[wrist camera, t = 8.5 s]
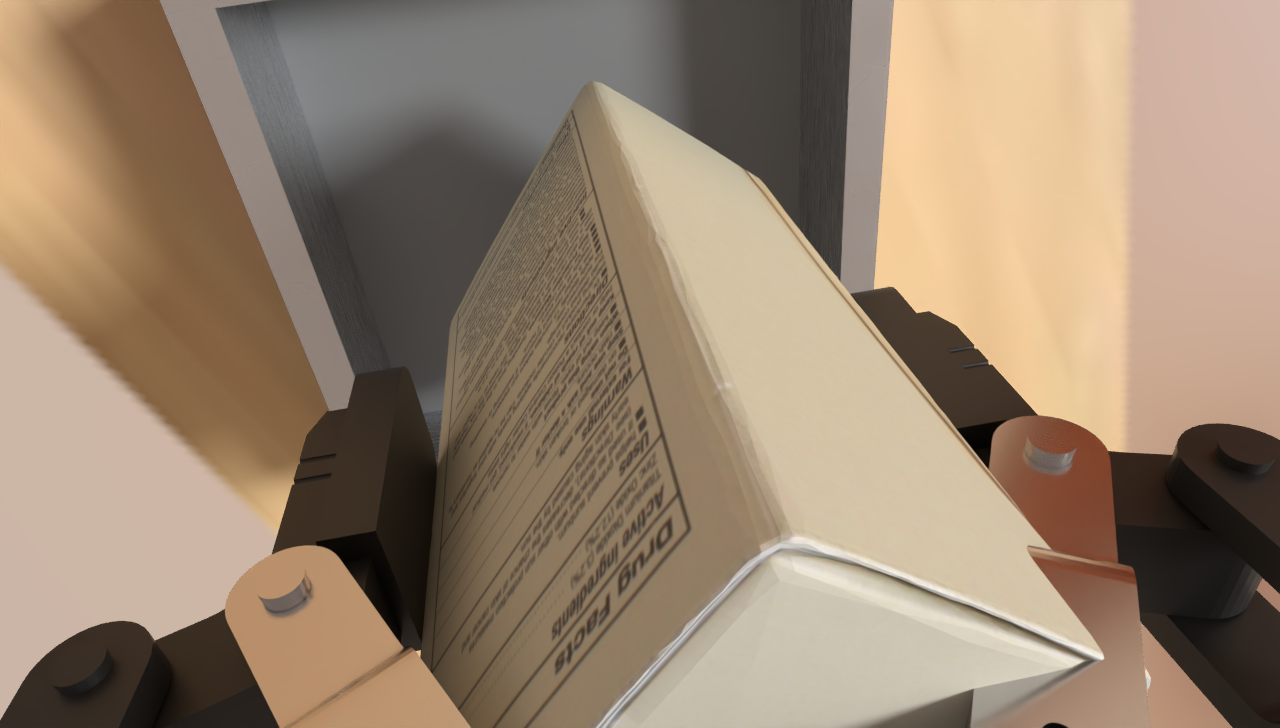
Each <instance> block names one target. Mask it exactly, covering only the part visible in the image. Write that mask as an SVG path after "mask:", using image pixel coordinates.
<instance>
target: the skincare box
mask: <svg viewBox="0 0 1280 728" xmlns="http://www.w3.org/2000/svg"><path fill="white" fill-rule="evenodd" d="M1028 545H1032V546H1037V547H1042V548H1047V549H1051V548H1050V547H1049V546H1048V545H1047V544H1046V542H1045V541H1044V540H1043V539H1042V538H1041V537H1040V535H1039V534H1038V533H1037V532H1036V531H1035V529H1034V528H1033V527H1032V525H1031V524H1030V523H1029V521H1028V520H1027V519H1026V517H1025V516H1024V515H1023V513H1022V512H1021V511H1020V509H1019V508H1018V507H1017V505H1016V504H1015V503H1014V501H1013V500H1012V499H1011V498H1010V496H1009V495H1008V494H1007V493H1006V491H1005V490H1004V489H1003V487H1002V486H1001V485H1000V484H999V482H998V481H997V480H996V479H995V477H994V476H993V475H992V474H991V472H990V471H989V470H988V468H987V467H986V466H985V465H984V463H983V462H982V461H981V460H980V458H979V457H978V456H977V455H976V453H975V452H974V451H973V449H972V448H971V447H970V446H969V444H968V443H967V442H966V441H965V439H964V438H963V437H962V436H961V434H960V433H959V432H958V431H957V429H956V428H955V427H954V425H953V424H952V423H951V421H950V420H949V419H948V418H947V416H946V415H945V414H944V412H943V411H942V410H941V409H940V408H939V407H938V406H937V404H936V403H935V402H934V400H933V399H932V398H931V396H930V395H929V393H928V392H927V391H926V390H925V388H924V387H923V386H922V384H921V383H920V382H919V381H918V379H917V378H916V377H915V376H914V374H913V373H912V372H911V371H910V369H909V368H908V367H907V366H906V364H905V363H904V362H903V361H902V359H901V358H900V357H899V356H898V354H897V353H896V352H895V351H894V349H893V348H892V347H891V346H890V344H889V343H888V342H887V341H886V339H885V338H884V337H883V335H882V334H881V333H880V331H879V330H878V329H877V328H876V326H875V325H874V324H873V322H872V321H871V320H870V319H869V317H868V316H867V315H866V314H865V312H864V311H863V310H862V309H861V307H860V306H859V305H858V304H857V303H856V301H855V300H854V299H853V297H852V296H851V295H850V293H849V292H848V291H847V290H846V288H845V287H844V286H843V285H842V284H841V282H840V281H839V279H838V278H837V277H836V275H835V274H834V273H833V272H832V271H831V270H830V268H829V267H828V266H827V264H826V263H825V262H824V260H823V259H822V258H821V256H820V255H819V254H818V253H817V251H816V250H815V249H814V248H813V246H812V245H811V244H810V243H809V241H808V240H807V239H806V238H805V236H804V235H803V233H802V232H801V231H800V230H799V228H798V227H797V226H796V225H795V223H794V222H793V221H792V220H791V218H790V217H789V216H788V214H787V213H786V212H785V210H784V209H783V208H782V206H781V205H780V204H779V202H778V201H777V200H776V198H775V197H774V196H773V195H772V193H771V192H770V191H769V189H768V188H767V187H766V185H765V184H764V183H763V182H762V181H761V180H760V179H759V178H758V177H756V176H754V175H753V174H751V173H750V172H748V171H746V170H745V169H743V168H742V167H740V166H738V165H737V164H735V163H734V162H732V161H731V160H729V159H727V158H726V157H724V156H723V155H721V154H720V153H718V152H717V151H715V150H713V149H712V148H710V147H709V146H707V145H706V144H704V143H702V142H701V141H699V140H697V139H696V138H694V137H692V136H691V135H689V134H687V133H686V132H684V131H682V130H681V129H679V128H677V127H676V126H674V125H672V124H671V123H669V122H667V121H666V120H664V119H662V118H661V117H659V116H658V115H656V114H654V113H653V112H651V111H649V110H648V109H646V108H644V107H642V106H641V105H639V104H637V103H636V102H634V101H632V100H630V99H629V98H627V97H625V96H623V95H622V94H620V93H618V92H616V91H615V90H613V89H611V88H610V87H608V86H606V85H604V84H603V83H601V82H596V81H591V82H589V83H587V84H585V85H584V86H583V88H582V89H581V91H580V92H579V94H578V96H577V97H576V99H575V100H574V102H573V104H572V105H571V107H570V109H569V110H568V112H567V114H566V116H565V117H564V119H563V121H562V122H561V124H560V126H559V127H558V129H557V131H556V133H555V134H554V136H553V138H552V139H551V141H550V143H549V144H548V146H547V148H546V150H545V151H544V153H543V155H542V157H541V158H540V160H539V162H538V164H537V165H536V167H535V169H534V171H533V172H532V174H531V176H530V178H529V179H528V181H527V183H526V185H525V186H524V188H523V190H522V192H521V193H520V195H519V197H518V199H517V200H516V202H515V204H514V206H513V207H512V209H511V211H510V213H509V215H508V217H507V219H506V220H505V222H504V224H503V226H502V228H501V229H500V231H499V233H498V235H497V236H496V238H495V240H494V242H493V243H492V245H491V247H490V249H489V251H488V253H487V255H486V256H485V258H484V260H483V262H482V264H481V266H480V268H479V269H478V271H477V273H476V275H475V277H474V279H473V281H472V282H471V284H470V286H469V288H468V290H467V292H466V294H465V296H464V298H463V300H462V302H461V304H460V306H459V308H458V309H457V311H456V313H455V315H454V317H453V319H452V321H451V326H450V331H449V345H448V355H447V366H446V379H445V388H444V402H443V411H442V424H441V433H440V442H439V454H438V465H437V477H436V490H435V502H434V512H433V524H432V538H431V546H430V555H429V567H428V578H427V589H426V601H425V612H424V622H423V633H422V644H421V659H422V661H423V662H424V663H425V665H426V666H427V668H428V669H429V670H430V672H431V673H432V675H433V676H434V677H435V679H436V680H437V681H438V683H439V684H440V686H441V687H442V688H443V690H444V691H445V692H446V694H447V695H448V697H449V698H450V699H451V701H452V702H453V703H454V705H455V706H456V708H457V709H458V710H459V712H460V713H461V714H462V716H463V717H464V719H465V720H466V721H467V723H468V724H469V726H470V727H471V728H965V725H966V720H967V716H968V712H969V708H970V703H971V699H972V695H973V690H974V689H975V688H979V687H984V686H989V685H994V684H999V683H1004V682H1008V681H1013V680H1018V679H1023V678H1028V677H1033V676H1037V675H1041V674H1046V673H1050V672H1054V671H1058V670H1063V669H1067V668H1071V667H1073V666H1075V665H1077V664H1079V663H1081V662H1083V661H1091V660H1103V659H1104V655H1103V652H1102V651H1101V649H1100V648H1099V646H1098V645H1097V643H1096V642H1095V640H1094V639H1093V637H1092V636H1091V635H1090V633H1089V632H1088V631H1087V629H1086V628H1085V627H1084V625H1083V624H1082V623H1081V622H1080V620H1079V619H1078V618H1077V616H1076V615H1075V614H1074V612H1073V611H1072V610H1071V609H1070V607H1069V606H1068V605H1067V603H1066V602H1065V601H1064V600H1063V598H1062V597H1061V596H1060V594H1059V593H1058V592H1057V590H1056V589H1055V588H1054V587H1053V585H1052V584H1051V583H1050V581H1049V580H1048V579H1047V578H1046V576H1045V575H1044V574H1043V572H1042V571H1041V570H1040V568H1039V567H1038V566H1037V565H1036V563H1035V562H1034V560H1033V559H1032V558H1031V556H1030V554H1029V553H1028V551H1027V546H1028ZM1051 550H1052V549H1051ZM1145 675H1146V686H1147V690H1148V688H1149V686H1150V681H1151V678H1150V676H1149V674H1148V672H1147V670H1146V668H1145Z"/></svg>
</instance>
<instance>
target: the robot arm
mask: <svg viewBox="0 0 1280 728" xmlns="http://www.w3.org/2000/svg"><path fill="white" fill-rule="evenodd" d="M850 295H851V296H852V297H853V299H854V300H855V301H856V303H857V304H858V305H859V306H860V307H861V309H862V310H863V311H864V312H865V314H866V315H867V316H868V317H869V319H870V320H871V321H872V322H873V324H874V325H875V326H876V328H877V329H878V330H879V331H880V333H881V334H882V335H883V337H884V338H885V339H886V341H887V342H888V343H889V344H890V346H891V347H892V348H893V349H894V351H895V352H896V353H897V354H898V356H899V357H900V358H901V359H902V361H903V362H904V363H905V364H906V366H907V367H908V368H909V369H910V371H911V372H912V373H913V374H914V376H915V377H916V378H917V379H918V381H919V382H920V383H921V384H922V386H923V387H924V388H925V390H926V391H927V392H928V393H929V395H930V396H931V398H932V399H933V400H934V402H935V403H936V404H937V406H938V407H939V408H940V409H941V410H942V411H943V412H944V414H945V415H946V416H947V418H948V419H949V420H950V421H951V423H952V424H953V425H954V427H955V428H956V429H957V431H958V432H959V433H960V434H961V436H962V437H963V438H964V439H965V441H966V442H967V443H968V444H969V446H970V447H971V448H972V449H973V451H974V452H975V453H976V455H977V456H978V457H979V458H980V460H981V461H982V462H983V463H984V465H985V466H986V467H987V468H988V470H989V471H990V472H991V474H992V475H993V476H994V477H995V479H996V480H997V481H998V482H999V484H1000V485H1001V486H1002V487H1003V489H1004V490H1005V491H1006V493H1007V494H1008V495H1009V496H1010V498H1011V499H1012V500H1013V501H1014V503H1015V504H1016V505H1017V507H1018V508H1019V509H1020V511H1021V512H1022V513H1023V515H1024V516H1025V517H1026V519H1027V520H1028V521H1029V523H1030V524H1031V525H1032V527H1033V528H1034V529H1035V531H1036V532H1037V533H1038V534H1039V535H1040V537H1041V538H1042V539H1043V540H1044V541H1045V542H1046V544H1047V545H1048V546H1049V547H1050V548H1051V549H1052V550H1051V549H1047V548H1042V547H1037V546H1032V545H1028V546H1027V551H1028V553H1029V554H1030V556H1031V558H1032V559H1033V560H1034V562H1035V563H1036V565H1037V566H1038V567H1039V568H1040V570H1041V571H1042V572H1043V574H1044V575H1045V576H1046V578H1047V579H1048V580H1049V581H1050V583H1051V584H1052V585H1053V587H1054V588H1055V589H1056V590H1057V592H1058V593H1059V594H1060V596H1061V597H1062V598H1063V600H1064V601H1065V602H1066V603H1067V605H1068V606H1069V607H1070V609H1071V610H1072V611H1073V612H1074V614H1075V615H1076V616H1077V618H1078V619H1079V620H1080V622H1081V623H1082V624H1083V625H1084V627H1085V628H1086V629H1087V631H1088V632H1089V633H1090V635H1091V636H1092V637H1093V639H1094V640H1095V642H1096V643H1097V645H1098V646H1099V648H1100V649H1101V651H1102V652H1103V655H1104V659H1103V660H1091V661H1083V662H1081V663H1079V664H1077V665H1075V666H1073V667H1071V668H1067V669H1063V670H1058V671H1054V672H1050V673H1046V674H1041V675H1037V676H1033V677H1028V678H1023V679H1018V680H1013V681H1008V682H1004V683H999V684H994V685H989V686H984V687H979V688H975V689H974V690H973V695H972V699H971V703H970V708H969V712H968V716H967V720H966V725H965V728H1150V717H1149V707H1148V696H1147V686H1146V675H1145V665H1144V655H1143V644H1142V634H1141V623H1140V621H1141V622H1142V624H1143V625H1144V626H1145V627H1146V628H1147V629H1148V631H1149V632H1150V633H1151V634H1152V635H1153V636H1154V637H1155V639H1156V640H1157V641H1158V642H1159V643H1160V644H1161V646H1162V647H1163V648H1164V649H1165V650H1166V651H1167V652H1168V654H1169V655H1170V656H1171V657H1172V658H1173V659H1174V660H1175V662H1176V663H1177V664H1178V665H1179V666H1180V667H1181V669H1182V670H1183V671H1184V672H1185V673H1186V674H1187V675H1188V677H1189V678H1190V679H1191V680H1192V681H1193V682H1194V683H1195V685H1196V686H1197V687H1198V688H1199V689H1200V690H1201V692H1202V693H1203V694H1204V695H1205V696H1206V697H1207V698H1208V700H1209V701H1210V702H1211V703H1212V704H1213V705H1214V706H1215V708H1216V709H1217V710H1218V711H1219V712H1220V713H1221V715H1223V717H1224V718H1225V719H1226V720H1227V722H1228V723H1229V724H1230V725H1231V726H1232V727H1233V728H1280V612H1279V611H1278V610H1277V609H1275V608H1274V607H1273V606H1272V605H1271V604H1270V603H1269V602H1268V601H1267V600H1266V599H1265V598H1264V597H1263V596H1262V595H1261V594H1260V593H1259V592H1258V591H1257V590H1256V589H1257V588H1258V586H1259V584H1260V581H1261V580H1262V578H1263V579H1265V581H1267V582H1268V583H1269V584H1270V585H1271V586H1272V587H1273V588H1274V589H1275V590H1276V591H1277V592H1278V593H1279V594H1280V440H1278V439H1277V438H1275V437H1273V436H1270V435H1268V434H1266V433H1263V432H1260V431H1257V430H1254V429H1251V428H1247V427H1243V426H1238V425H1231V424H1204V425H1199V426H1196V427H1192V428H1190V429H1188V430H1187V431H1185V432H1184V433H1183V434H1182V435H1181V436H1180V438H1179V439H1178V442H1177V444H1176V447H1175V450H1174V452H1173V455H1162V454H1143V453H1124V452H1112V451H1108V450H1107V448H1106V446H1105V445H1104V444H1103V443H1102V441H1101V440H1100V439H1098V438H1097V437H1096V436H1095V435H1094V434H1092V433H1091V432H1090V431H1088V430H1087V429H1085V428H1083V427H1081V426H1079V425H1077V424H1074V423H1072V422H1069V421H1066V420H1063V419H1059V418H1054V417H1048V416H1038V415H1037V414H1036V412H1035V411H1034V410H1033V409H1032V408H1031V407H1030V406H1029V405H1028V404H1027V403H1026V402H1025V400H1024V399H1023V398H1022V397H1021V396H1020V395H1019V394H1018V393H1017V392H1016V391H1015V389H1014V388H1013V387H1012V386H1011V385H1010V384H1009V383H1008V382H1007V381H1006V380H1005V378H1004V377H1003V376H1002V375H1001V374H1000V373H999V372H998V371H997V370H996V369H995V367H994V366H993V365H989V364H988V360H987V359H986V358H985V357H984V355H983V354H982V353H981V352H980V351H979V350H978V349H975V348H974V344H973V343H972V342H971V341H970V340H969V339H968V338H967V337H966V336H965V335H964V333H963V332H962V331H961V330H960V329H959V328H958V327H957V326H956V325H954V324H952V323H950V322H948V321H946V320H944V319H943V318H941V317H939V316H937V315H935V314H933V313H931V312H929V311H928V312H922V313H916V312H915V311H914V310H913V309H912V307H911V306H910V305H909V304H908V303H907V302H906V300H905V299H904V298H903V297H902V296H901V295H900V293H899V292H898V291H897V290H896V289H895V288H893V287H887V288H881V289H875V290H869V291H863V292H857V293H851V294H850ZM436 477H437V463H436V456H435V451H434V446H433V443H432V439H431V436H430V433H429V430H428V427H427V424H426V420H425V417H424V414H423V411H422V408H421V405H420V402H419V399H418V396H417V392H416V389H415V386H414V383H413V380H412V377H411V375H410V372H409V370H408V369H407V368H406V367H405V366H403V367H397V368H391V369H385V370H379V371H373V372H367V373H361V374H357V375H356V376H355V379H354V382H353V387H352V391H351V395H350V399H349V403H348V407H347V408H345V409H339V410H333V411H327V412H326V413H325V414H324V416H323V417H322V418H321V419H320V420H319V421H318V423H317V424H316V425H315V426H314V427H313V429H312V430H311V431H310V432H309V433H308V434H307V437H306V440H305V443H304V447H303V450H302V453H301V457H300V464H298V467H297V470H296V474H295V477H294V485H292V487H291V491H290V494H289V497H288V501H287V504H286V508H285V511H284V514H283V518H282V521H281V525H280V528H279V531H278V535H277V538H276V542H275V545H274V548H273V552H272V555H270V556H268V557H266V558H265V559H263V560H261V561H260V562H258V563H257V564H255V565H254V566H253V567H252V568H250V569H249V570H248V571H247V572H246V573H245V574H244V575H243V576H241V578H240V579H239V580H238V581H237V582H236V584H235V585H234V587H233V588H232V590H231V592H230V593H229V596H228V599H227V601H226V606H225V609H224V610H222V611H221V612H219V613H217V614H215V615H213V616H211V617H209V618H207V619H204V620H202V621H200V622H197V623H195V624H193V625H191V626H188V627H186V628H183V629H181V630H179V631H177V632H174V633H172V634H169V635H167V636H165V637H162V638H160V639H158V640H154V639H153V638H152V636H151V635H150V633H149V632H148V631H147V630H146V629H145V628H144V627H143V626H141V625H139V624H137V623H133V622H127V621H116V622H109V623H104V624H100V625H97V626H94V627H91V628H88V629H86V630H84V631H82V632H79V633H77V634H76V635H74V636H72V637H70V638H69V639H67V640H65V641H64V642H62V643H61V644H59V645H58V646H56V647H55V648H54V649H53V650H52V651H50V652H49V653H48V654H46V655H45V656H44V657H43V658H42V659H41V660H40V661H39V662H38V663H37V664H36V665H35V667H34V668H33V669H32V670H31V671H30V672H29V674H28V675H27V677H26V678H25V680H24V681H23V683H22V684H21V686H20V688H19V689H18V691H17V693H16V695H15V696H14V698H13V700H12V702H11V703H10V705H9V706H8V708H7V710H6V712H5V713H4V715H3V717H2V718H1V720H0V728H471V727H470V726H469V724H468V723H467V721H466V720H465V719H464V717H463V716H462V714H461V713H460V712H459V710H458V709H457V708H456V706H455V705H454V703H453V702H452V701H451V699H450V698H449V697H448V695H447V694H446V692H445V691H444V690H443V688H442V687H441V686H440V684H439V683H438V681H437V680H436V679H435V677H434V676H433V675H432V673H431V672H430V670H429V669H428V668H427V666H426V665H425V663H424V662H423V661H422V659H421V658H420V657H419V655H418V654H417V653H416V652H415V651H418V650H421V644H422V633H423V622H424V612H425V601H426V589H427V578H428V567H429V555H430V546H431V538H432V524H433V512H434V502H435V490H436Z"/></svg>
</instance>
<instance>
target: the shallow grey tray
mask: <svg viewBox="0 0 1280 728" xmlns="http://www.w3.org/2000/svg"><path fill="white" fill-rule="evenodd" d="M265 1H270V0H160V3H161V5H162V8H163V10H164V12H165V15H166V17H167V20H168V22H169V24H170V27H171V29H172V32H173V34H174V37H175V39H176V41H177V44H178V46H179V49H180V51H181V53H182V56H183V58H184V61H185V63H186V66H187V68H188V70H189V73H190V75H191V78H192V80H193V82H194V85H195V87H196V90H197V92H198V95H199V97H200V99H201V102H202V104H203V107H204V109H205V112H206V114H207V116H208V119H209V121H210V124H211V126H212V128H213V131H214V133H215V136H216V138H217V141H218V143H219V145H220V148H221V150H222V153H223V155H224V157H225V160H226V162H227V165H228V167H229V170H230V172H231V174H232V177H233V179H234V182H235V184H236V186H237V189H238V191H239V194H240V196H241V199H242V201H243V203H244V206H245V208H246V211H247V213H248V216H249V218H250V220H251V223H252V225H253V228H254V230H255V232H256V235H257V237H258V240H259V242H260V245H261V247H262V249H263V252H264V254H265V257H266V259H267V261H268V264H269V266H270V269H271V271H272V274H273V276H274V278H275V281H276V283H277V286H278V288H279V291H280V293H281V295H282V298H283V300H284V303H285V305H286V307H287V310H288V312H289V315H290V317H291V320H292V322H293V324H294V327H295V329H296V332H297V334H298V336H299V339H300V341H301V344H302V346H303V349H304V351H305V353H306V356H307V358H308V361H309V363H310V365H311V368H312V370H313V373H314V375H315V378H316V380H317V382H318V385H319V387H320V390H321V392H322V395H323V397H324V399H325V402H326V404H327V407H328V409H329V411H333V410H339V409H345V408H347V407H348V403H349V399H350V395H351V391H352V387H353V382H354V379H355V376H356V375H357V374H361V373H367V372H373V371H379V370H385V369H391V365H390V362H389V359H388V356H387V354H386V351H385V348H384V345H383V342H382V339H381V336H380V333H379V330H378V327H377V324H376V322H375V319H374V316H373V313H372V310H371V307H370V304H369V301H368V298H367V295H366V292H365V290H364V287H363V284H362V281H361V278H360V275H359V272H358V269H357V266H356V263H355V260H354V258H353V255H352V252H351V249H350V246H349V243H348V240H347V237H346V234H345V231H344V229H343V226H342V223H341V220H340V217H339V214H338V211H337V208H336V205H335V202H334V199H333V197H332V194H331V191H330V188H329V185H328V182H327V179H326V176H325V173H324V170H323V167H322V165H321V162H320V159H319V156H318V153H317V150H316V147H315V144H314V141H313V138H312V135H311V133H310V130H309V127H308V124H307V121H306V118H305V115H304V112H303V109H302V106H301V104H300V101H299V98H298V95H297V92H296V89H295V86H294V83H293V80H292V77H291V74H290V72H289V69H288V66H287V63H286V60H285V57H284V54H283V51H282V48H281V45H280V42H279V40H278V37H277V34H276V31H275V28H274V25H273V22H272V19H271V16H270V13H269V10H268V8H267V5H266V2H265ZM893 5H894V0H801V31H800V146H799V230H800V231H801V232H802V233H803V235H804V236H805V238H806V239H807V240H808V241H809V243H810V244H811V245H812V246H813V248H814V249H815V250H816V251H817V253H818V254H819V255H820V256H821V258H822V259H823V260H824V262H825V263H826V264H827V266H828V267H829V268H830V270H831V271H832V272H833V273H834V274H835V275H836V277H837V278H838V279H839V281H840V282H841V284H842V285H843V286H844V287H845V288H846V290H847V291H848V292H849V293H850V294H851V293H857V292H863V291H869V290H874V276H875V262H876V248H877V234H878V219H879V205H880V191H881V176H882V162H883V148H884V134H885V119H886V105H887V91H888V76H889V62H890V48H891V34H892V19H893ZM442 411H443V410H437V411H432V412H426V413H423V414H424V417H425V420H426V424H427V427H428V430H429V433H430V436H431V439H432V443H433V446H434V451H435V456H436V463H437V465H438V454H439V442H440V433H441V424H442Z"/></svg>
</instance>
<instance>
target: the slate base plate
mask: <svg viewBox="0 0 1280 728" xmlns="http://www.w3.org/2000/svg"><path fill="white" fill-rule="evenodd" d="M265 2H266V5H267V8H268V10H269V13H270V16H271V19H272V22H273V25H274V28H275V31H276V34H277V37H278V40H279V42H280V45H281V48H282V51H283V54H284V57H285V60H286V63H287V66H288V69H289V72H290V74H291V77H292V80H293V83H294V86H295V89H296V92H297V95H298V98H299V101H300V104H301V106H302V109H303V112H304V115H305V118H306V121H307V124H308V127H309V130H310V133H311V135H312V138H313V141H314V144H315V147H316V150H317V153H318V156H319V159H320V162H321V165H322V167H323V170H324V173H325V176H326V179H327V182H328V185H329V188H330V191H331V194H332V197H333V199H334V202H335V205H336V208H337V211H338V214H339V217H340V220H341V223H342V226H343V229H344V231H345V234H346V237H347V240H348V243H349V246H350V249H351V252H352V255H353V258H354V260H355V263H356V266H357V269H358V272H359V275H360V278H361V281H362V284H363V287H364V290H365V292H366V295H367V298H368V301H369V304H370V307H371V310H372V313H373V316H374V319H375V322H376V324H377V327H378V330H379V333H380V336H381V339H382V342H383V345H384V348H385V351H386V354H387V356H388V359H389V362H390V365H391V368H397V367H403V366H405V367H406V368H407V369H408V370H409V372H410V375H411V377H412V380H413V383H414V386H415V389H416V392H417V396H418V399H419V402H420V405H421V408H422V411H423V413H426V412H432V411H437V410H443V402H444V388H445V379H446V366H447V355H448V345H449V331H450V326H451V321H452V319H453V317H454V315H455V313H456V311H457V309H458V308H459V306H460V304H461V302H462V300H463V298H464V296H465V294H466V292H467V290H468V288H469V286H470V284H471V282H472V281H473V279H474V277H475V275H476V273H477V271H478V269H479V268H480V266H481V264H482V262H483V260H484V258H485V256H486V255H487V253H488V251H489V249H490V247H491V245H492V243H493V242H494V240H495V238H496V236H497V235H498V233H499V231H500V229H501V228H502V226H503V224H504V222H505V220H506V219H507V217H508V215H509V213H510V211H511V209H512V207H513V206H514V204H515V202H516V200H517V199H518V197H519V195H520V193H521V192H522V190H523V188H524V186H525V185H526V183H527V181H528V179H529V178H530V176H531V174H532V172H533V171H534V169H535V167H536V165H537V164H538V162H539V160H540V158H541V157H542V155H543V153H544V151H545V150H546V148H547V146H548V144H549V143H550V141H551V139H552V138H553V136H554V134H555V133H556V131H557V129H558V127H559V126H560V124H561V122H562V121H563V119H564V117H565V116H566V114H567V112H568V110H569V109H570V107H571V105H572V104H573V102H574V100H575V99H576V97H577V96H578V94H579V92H580V91H581V89H582V88H583V86H584V85H585V84H587V83H589V82H591V81H596V82H601V83H603V84H604V85H606V86H608V87H610V88H611V89H613V90H615V91H616V92H618V93H620V94H622V95H623V96H625V97H627V98H629V99H630V100H632V101H634V102H636V103H637V104H639V105H641V106H642V107H644V108H646V109H648V110H649V111H651V112H653V113H654V114H656V115H658V116H659V117H661V118H662V119H664V120H666V121H667V122H669V123H671V124H672V125H674V126H676V127H677V128H679V129H681V130H682V131H684V132H686V133H687V134H689V135H691V136H692V137H694V138H696V139H697V140H699V141H701V142H702V143H704V144H706V145H707V146H709V147H710V148H712V149H713V150H715V151H717V152H718V153H720V154H721V155H723V156H724V157H726V158H727V159H729V160H731V161H732V162H734V163H735V164H737V165H738V166H740V167H742V168H743V169H745V170H746V171H748V172H750V173H751V174H753V175H754V176H756V177H758V178H759V179H760V180H761V181H762V182H763V183H764V184H765V185H766V187H767V188H768V189H769V191H770V192H771V193H772V195H773V196H774V197H775V198H776V200H777V201H778V202H779V204H780V205H781V206H782V208H783V209H784V210H785V212H786V213H787V214H788V216H789V217H790V218H791V220H792V221H793V222H794V223H795V225H796V226H797V227H798V228H799V146H800V31H801V0H270V1H265Z"/></svg>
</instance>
